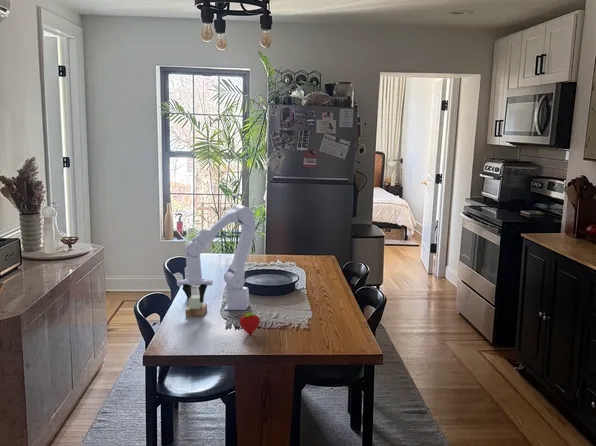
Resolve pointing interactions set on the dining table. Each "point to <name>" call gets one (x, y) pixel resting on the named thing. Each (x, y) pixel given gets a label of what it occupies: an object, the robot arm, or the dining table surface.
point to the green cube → (195, 302)
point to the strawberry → (249, 322)
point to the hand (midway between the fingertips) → (195, 301)
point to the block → (196, 311)
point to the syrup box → (193, 286)
